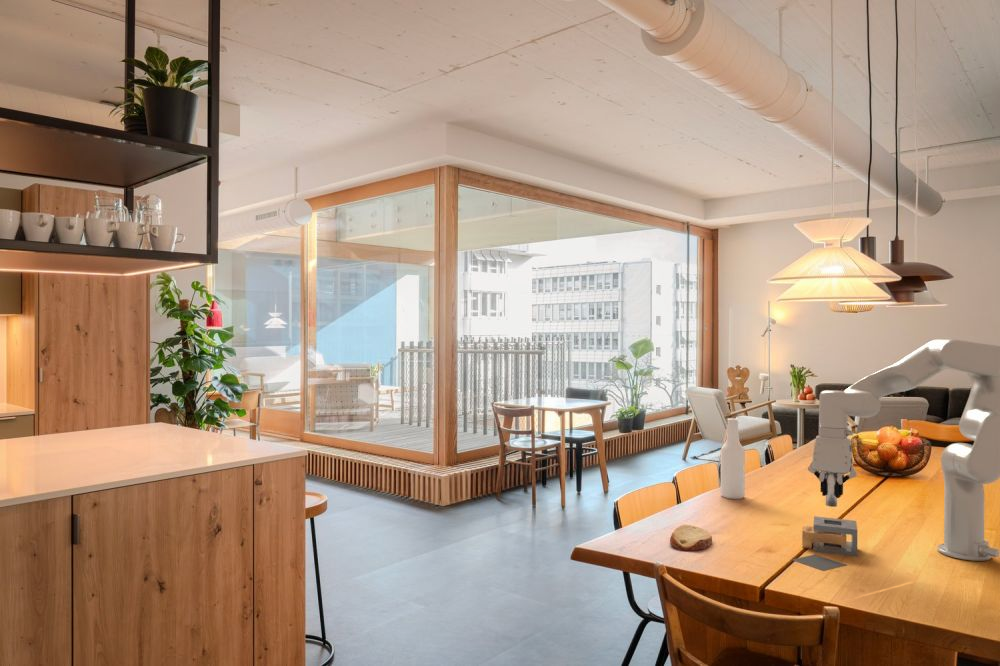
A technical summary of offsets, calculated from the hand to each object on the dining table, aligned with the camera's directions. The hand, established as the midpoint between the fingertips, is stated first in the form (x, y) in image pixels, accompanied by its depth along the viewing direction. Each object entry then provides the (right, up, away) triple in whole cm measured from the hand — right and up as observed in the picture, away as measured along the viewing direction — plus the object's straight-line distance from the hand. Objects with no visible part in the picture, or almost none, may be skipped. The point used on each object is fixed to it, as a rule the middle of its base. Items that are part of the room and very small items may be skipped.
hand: (831, 495), depth 199 cm
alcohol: (-7, -16, +64) cm, 67 cm away
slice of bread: (-39, -16, +9) cm, 43 cm away
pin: (0, -3, 0) cm, 3 cm away
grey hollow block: (0, -16, 0) cm, 16 cm away
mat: (-9, -16, -12) cm, 22 cm away
